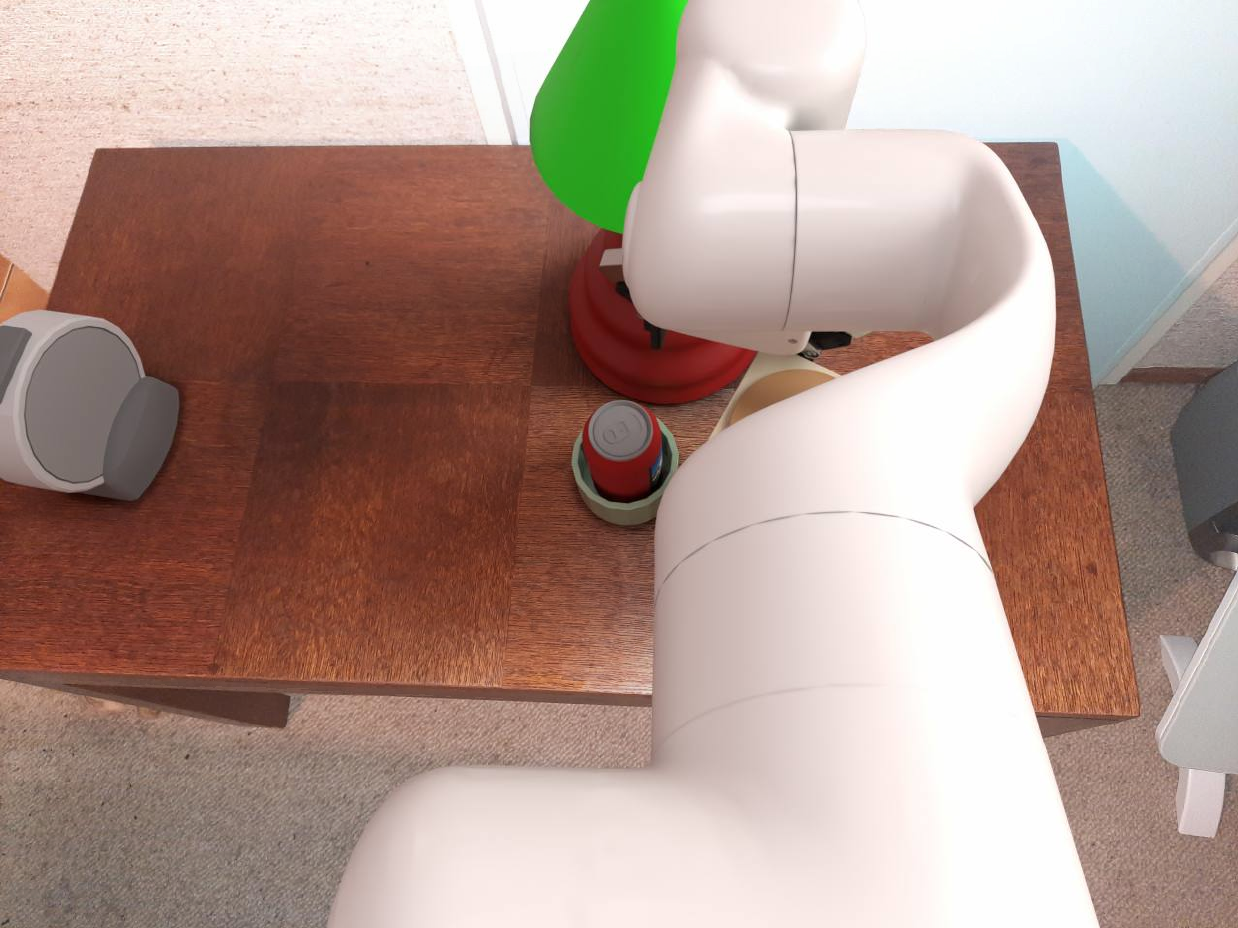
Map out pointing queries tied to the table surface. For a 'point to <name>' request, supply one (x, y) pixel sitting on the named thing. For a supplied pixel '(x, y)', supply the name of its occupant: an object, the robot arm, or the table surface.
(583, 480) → the can holder
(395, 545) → the table surface
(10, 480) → the alarm clock
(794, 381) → the cork pad
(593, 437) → the beverage can
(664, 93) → the table lamp
